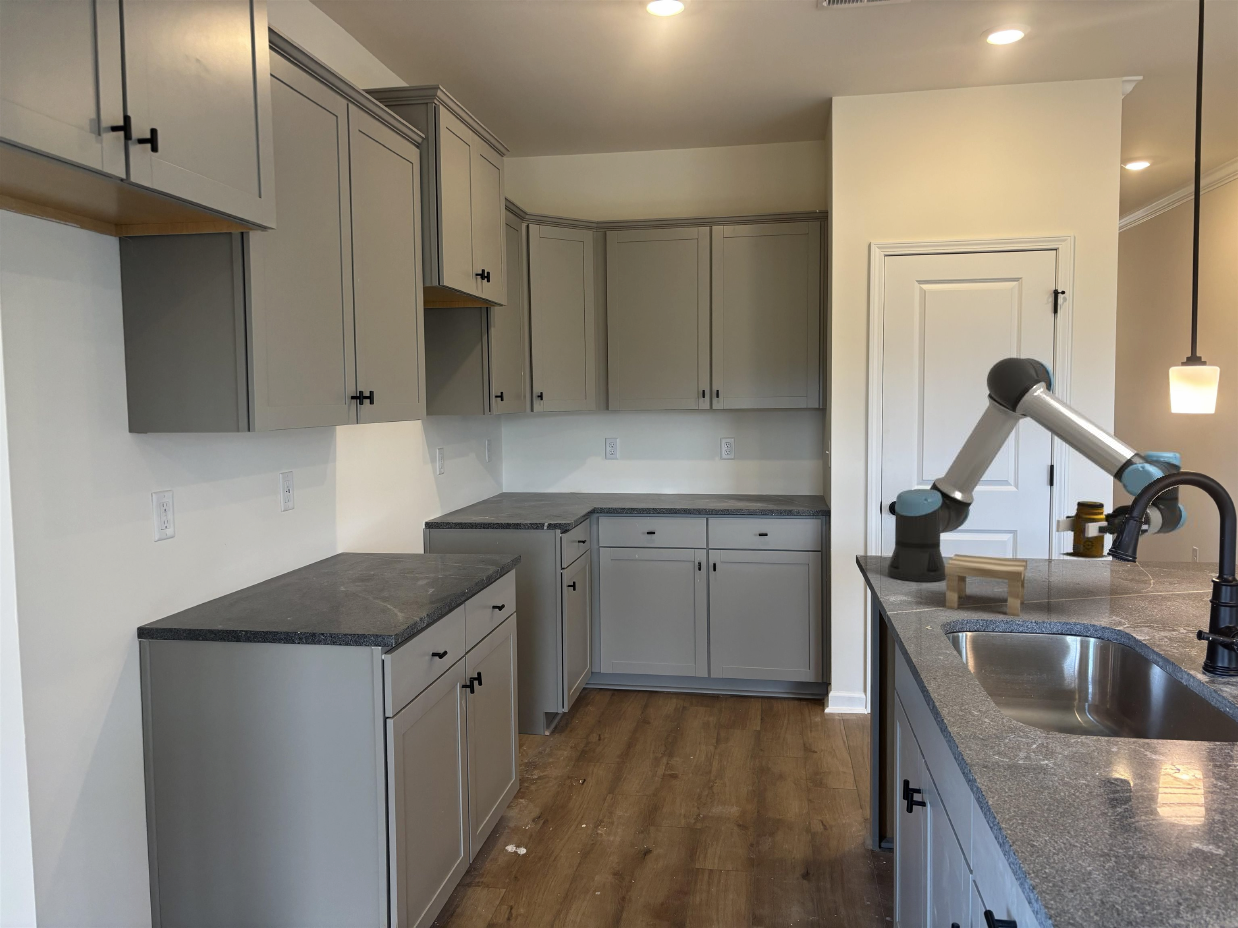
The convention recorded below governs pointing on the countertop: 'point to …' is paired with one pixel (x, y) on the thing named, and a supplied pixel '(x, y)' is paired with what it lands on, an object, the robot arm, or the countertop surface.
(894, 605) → the countertop surface
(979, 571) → the stool
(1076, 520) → the condiment
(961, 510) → the robot arm
